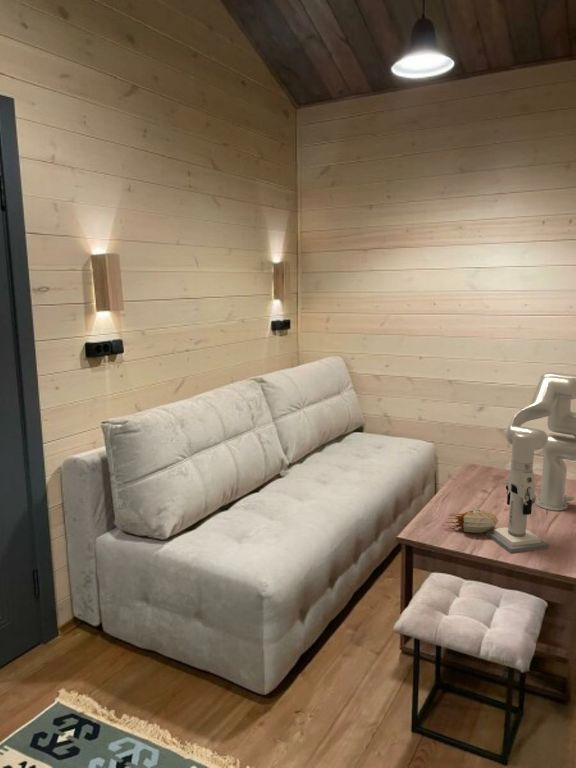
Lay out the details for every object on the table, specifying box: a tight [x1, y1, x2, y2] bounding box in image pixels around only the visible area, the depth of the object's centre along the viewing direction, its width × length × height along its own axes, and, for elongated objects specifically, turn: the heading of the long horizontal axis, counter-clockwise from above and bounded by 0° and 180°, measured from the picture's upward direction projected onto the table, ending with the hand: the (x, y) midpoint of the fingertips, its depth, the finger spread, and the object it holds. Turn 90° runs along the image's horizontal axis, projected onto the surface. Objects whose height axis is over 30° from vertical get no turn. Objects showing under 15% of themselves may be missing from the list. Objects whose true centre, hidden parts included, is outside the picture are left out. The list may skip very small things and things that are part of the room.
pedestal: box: [485, 526, 550, 554], centre depth 221 cm, size 16×16×3 cm
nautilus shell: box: [441, 509, 499, 534], centre depth 231 cm, size 8×22×15 cm
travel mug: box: [507, 484, 529, 537], centre depth 220 cm, size 6×7×20 cm
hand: (518, 509), depth 219 cm, fingers open, 9 cm apart
